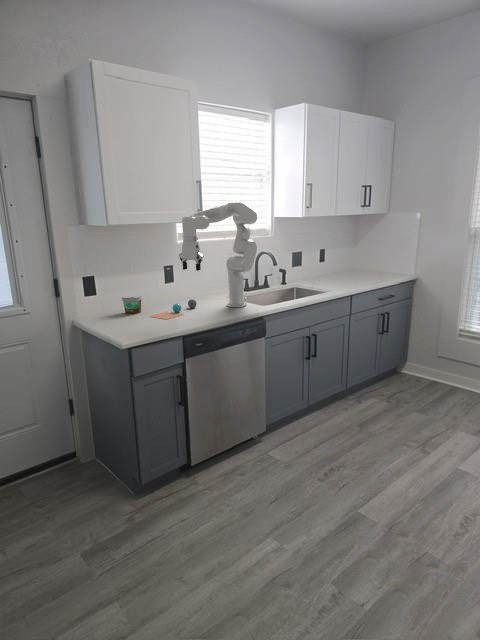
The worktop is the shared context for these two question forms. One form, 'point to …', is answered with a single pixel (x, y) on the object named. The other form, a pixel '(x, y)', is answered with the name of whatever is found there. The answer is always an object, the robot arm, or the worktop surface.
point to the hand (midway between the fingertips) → (191, 269)
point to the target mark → (166, 315)
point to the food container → (132, 305)
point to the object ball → (176, 308)
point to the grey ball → (192, 303)
